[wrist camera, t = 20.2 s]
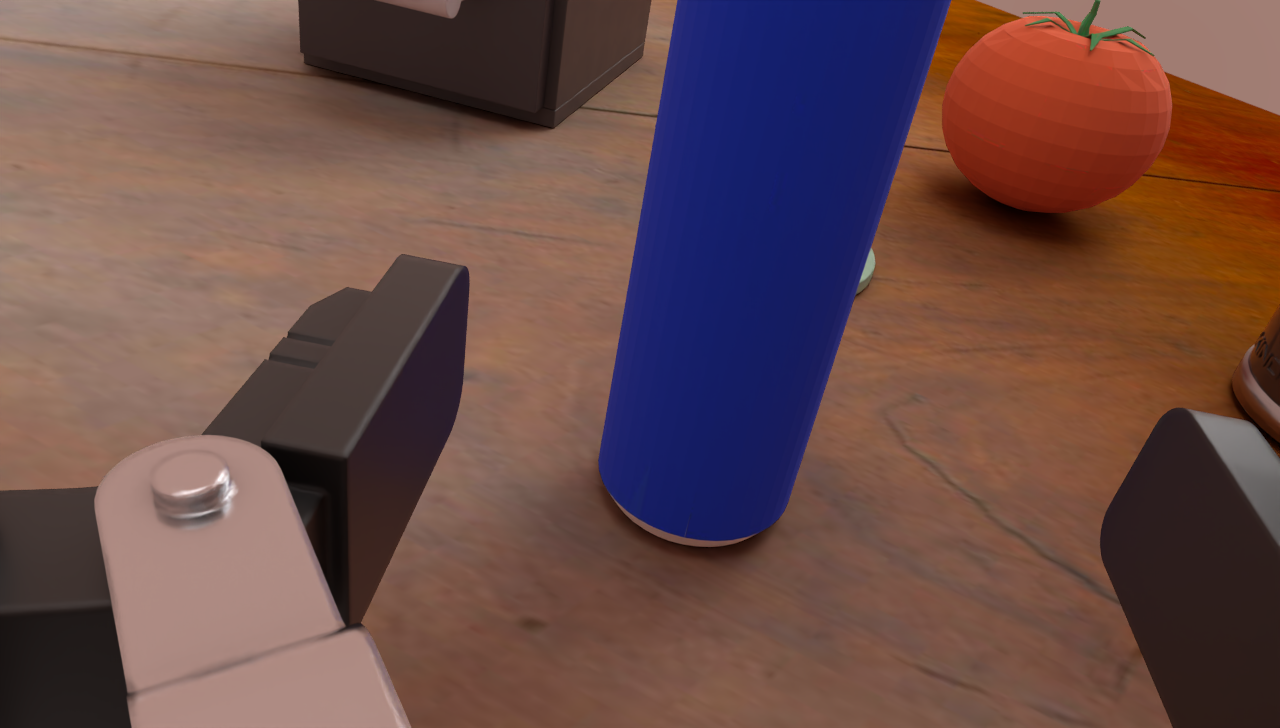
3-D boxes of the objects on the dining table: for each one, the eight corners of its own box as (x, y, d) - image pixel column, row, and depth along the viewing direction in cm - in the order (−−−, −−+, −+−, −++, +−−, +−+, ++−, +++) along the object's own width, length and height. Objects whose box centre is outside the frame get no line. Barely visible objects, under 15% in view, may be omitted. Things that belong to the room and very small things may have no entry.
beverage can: (823, 518, 25) (1038, -86, 17) (674, 587, 22) (849, -102, 14) (701, 412, 29) (835, -141, 20) (558, 461, 26) (647, -162, 17)
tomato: (904, 209, 45) (977, -9, 39) (926, 148, 53) (989, -40, 48) (1126, 273, 43) (1236, 51, 37) (1113, 198, 51) (1202, 8, 46)
